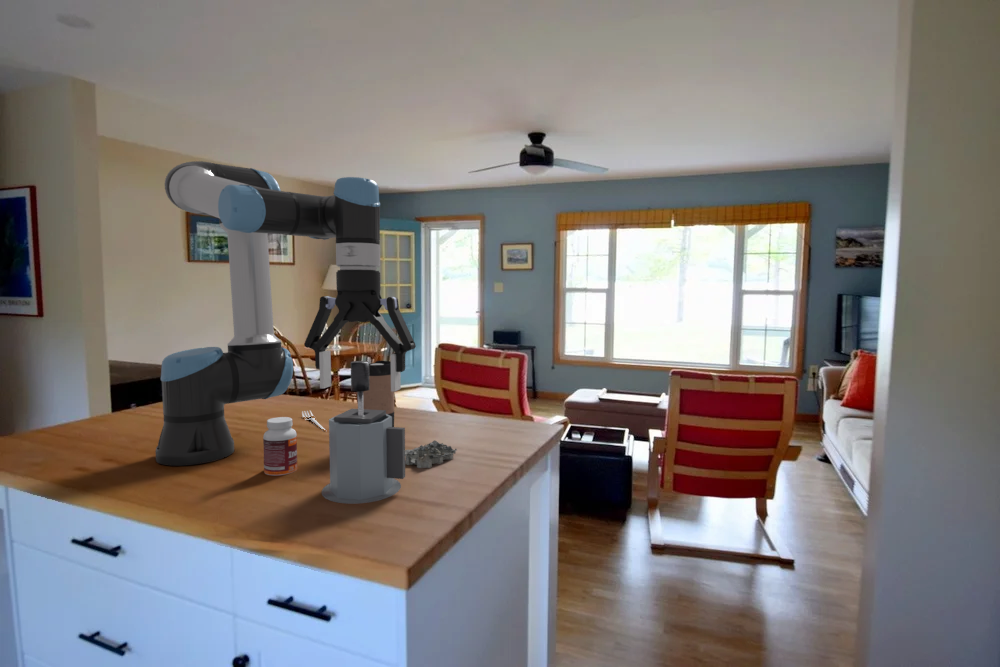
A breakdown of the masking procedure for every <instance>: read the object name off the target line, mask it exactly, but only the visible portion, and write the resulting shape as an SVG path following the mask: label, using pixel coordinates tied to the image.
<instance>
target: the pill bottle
mask: <svg viewBox="0 0 1000 667" xmlns="http://www.w3.org/2000/svg"><path fill="white" fill-rule="evenodd" d="M266 427H267V430H266V431H265V432H264V434H263V436H262V437H263V438H262V440H263V473H264V474H265V475H267V476H285V475H289V474H292V473H295V472H296V471H297V470H298V437H297V436H298V435H297V431H296V430H295V429H294V428H292V427H293V418H291V417H288V416H279V417H271V418H268V419H267V420H266Z"/></svg>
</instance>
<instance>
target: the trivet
mask: <svg viewBox="0 0 1000 667" xmlns="http://www.w3.org/2000/svg"><path fill="white" fill-rule="evenodd" d="M401 487H402V484H401V482H400V481H399V479H398V480H397V479H396V478H393V486H392V487H391V488H390V489H389V490H388V491H387V492H386V493H385V494H384V495H380V496H375V497H371V498H366V499H362V500H358V499H346V498H338V497H337V496H336V495H335V494H334V493H333V492H332V491H331V490H330V482H329V483H328V484H326V485H325V486H324V487H323V488H322V490H321V496H322V497H323V498H324V499H326V500H328V501H330V502H334V503H340V504H347V505H348V504H352V505H353V504H355V505H356V504H366V503H373V502H378V501H381V500H384V499H385V500H386V499H388V498H390V497H392V496H394V495H396V494H398V492H399V491H400V490H401Z"/></svg>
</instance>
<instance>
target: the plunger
mask: <svg viewBox="0 0 1000 667" xmlns="http://www.w3.org/2000/svg"><path fill="white" fill-rule="evenodd" d="M369 364H370V361H369V360H354V361H350V391H352V392H356V393H357V409H358V415H364V406H363V391H368V390H370V386H369ZM363 424H364V423H358V425H363Z"/></svg>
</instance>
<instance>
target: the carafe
mask: <svg viewBox="0 0 1000 667" xmlns="http://www.w3.org/2000/svg"><path fill="white" fill-rule="evenodd" d="M358 423H364V424H363V425H358ZM328 437H329V441H328V442H329V444H328V445H329V483H330V490H331V491H332V492H333V493H334V494H335V495H336V496H337V497H338V498H346V499H358V500H362V499H366V498H371V497H375V496H380V495H384V494H385V493H386V492H387V491H388V490H389V489H390V488H391V487H392V486H393V478H394V479H396V480H397V479H398V480H400V479H401V480H403V479H405V478H406V464H405V460H406V457H405V450H406V427H398V426H397V427H396V426H394V427H392V416H390V415H388V414H386V410H369V409H364V415H358V408H350V409H348V410H345V411H344V412H342V413H339V414H337V415H335V416H333V417H331V418H329V419H328Z"/></svg>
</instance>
